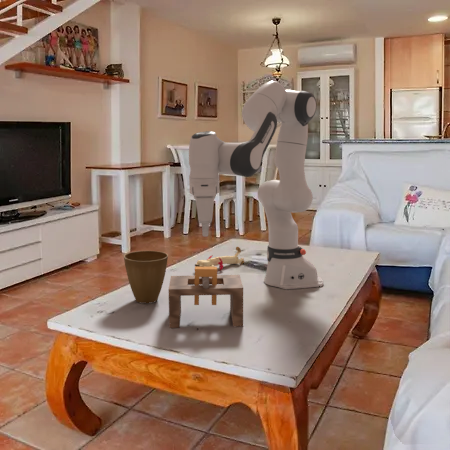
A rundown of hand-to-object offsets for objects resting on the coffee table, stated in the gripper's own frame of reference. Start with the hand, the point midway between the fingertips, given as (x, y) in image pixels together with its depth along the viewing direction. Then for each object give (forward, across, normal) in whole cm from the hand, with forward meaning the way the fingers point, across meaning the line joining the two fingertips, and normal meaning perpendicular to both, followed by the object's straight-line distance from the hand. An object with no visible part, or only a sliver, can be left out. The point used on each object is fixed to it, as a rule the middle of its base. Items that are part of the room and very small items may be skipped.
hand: (205, 232), depth 155 cm
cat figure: (+28, -59, +6) cm, 66 cm away
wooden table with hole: (+27, 0, 0) cm, 27 cm away
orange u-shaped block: (+22, 0, 0) cm, 22 cm away
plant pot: (+28, -19, -20) cm, 39 cm away
